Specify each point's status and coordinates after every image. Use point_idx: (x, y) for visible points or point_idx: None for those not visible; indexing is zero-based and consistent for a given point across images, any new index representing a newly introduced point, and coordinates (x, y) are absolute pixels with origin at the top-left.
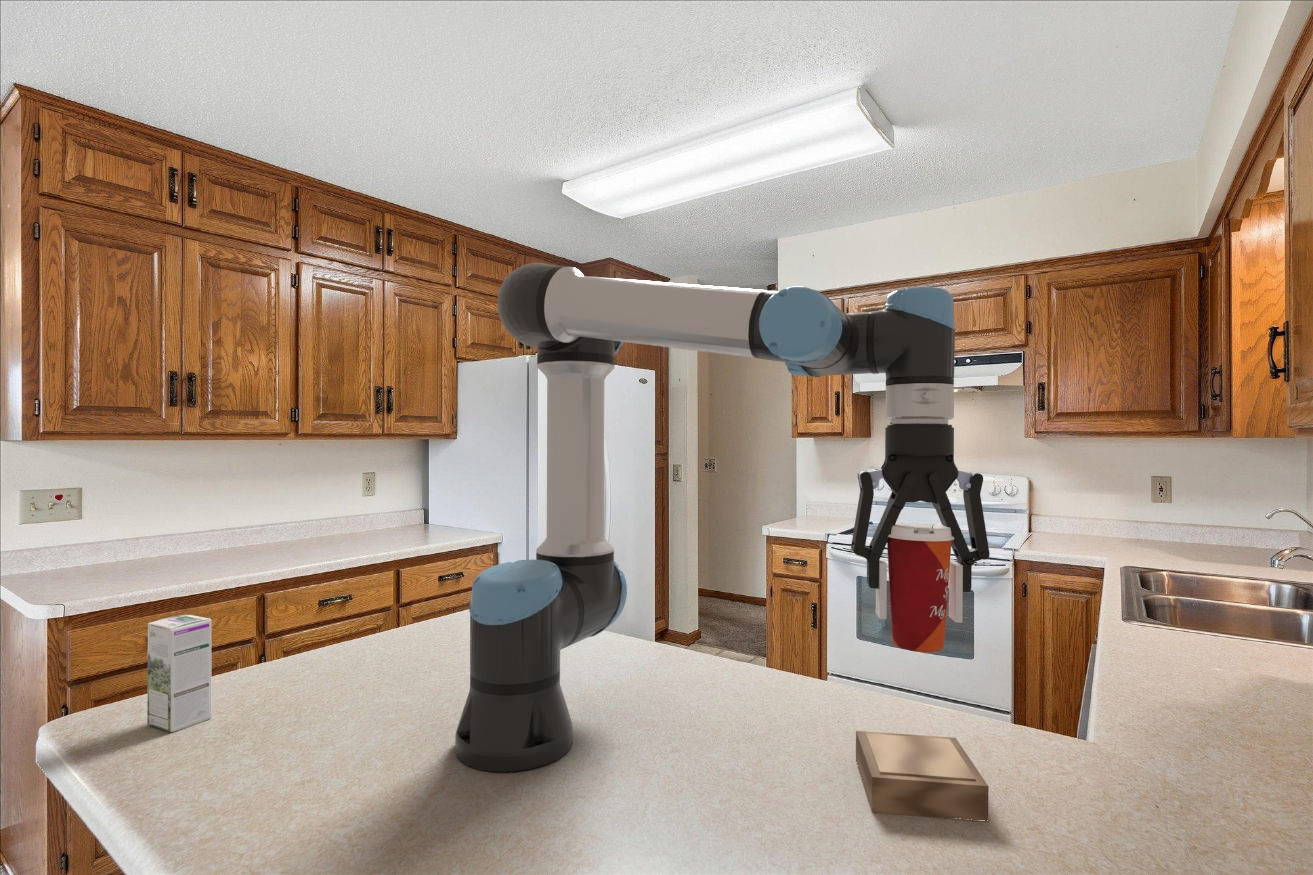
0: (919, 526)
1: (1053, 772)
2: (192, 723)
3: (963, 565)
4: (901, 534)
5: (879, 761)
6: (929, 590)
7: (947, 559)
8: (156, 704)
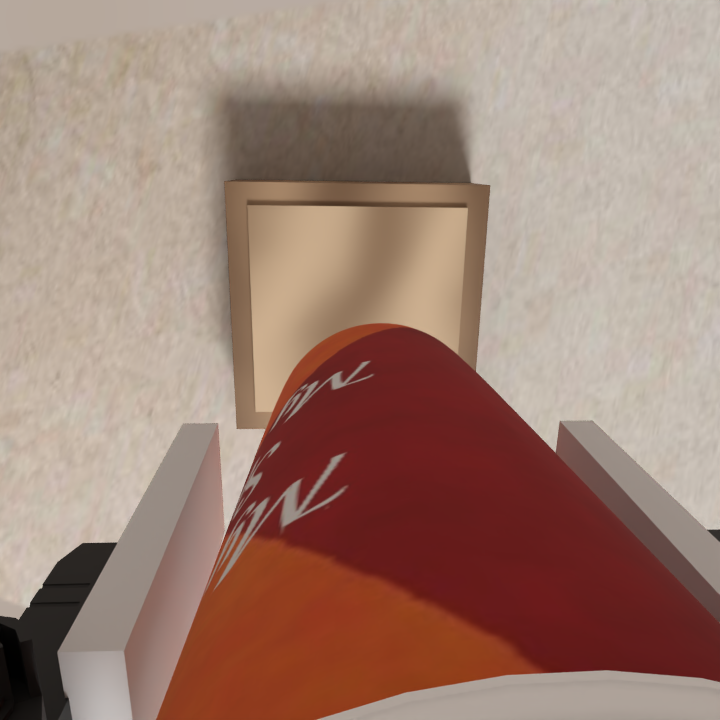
0: None
1: (35, 418)
2: None
3: (44, 690)
4: None
5: (456, 261)
6: (390, 411)
7: (206, 635)
8: None
